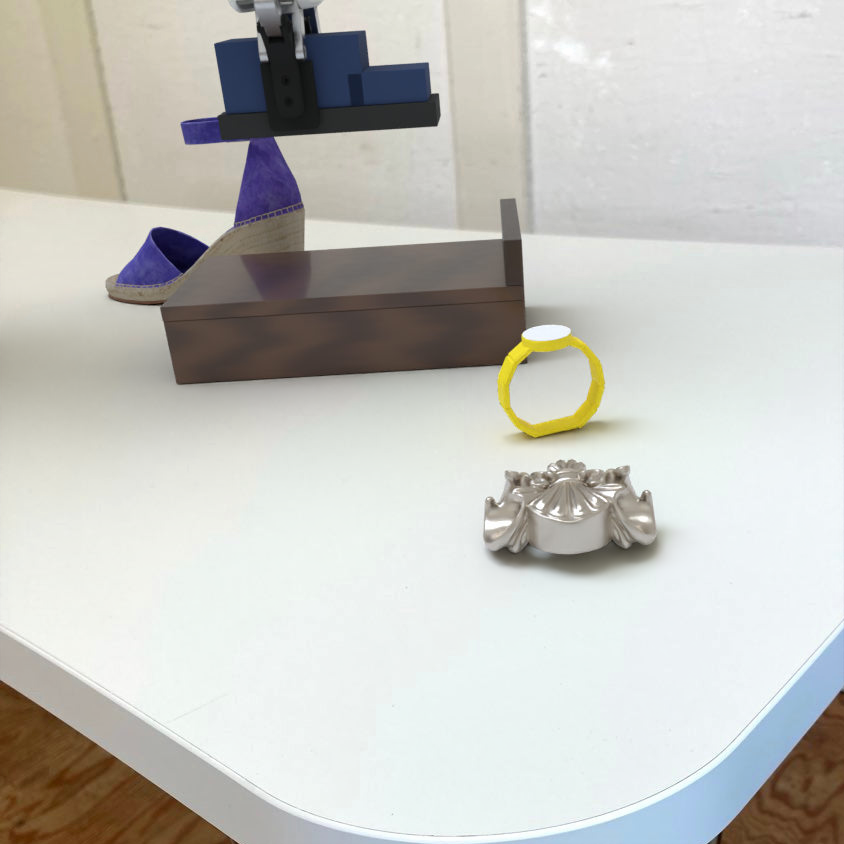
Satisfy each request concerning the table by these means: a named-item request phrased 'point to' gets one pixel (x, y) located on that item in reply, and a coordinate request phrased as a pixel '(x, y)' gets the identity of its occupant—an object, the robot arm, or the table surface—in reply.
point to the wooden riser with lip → (350, 309)
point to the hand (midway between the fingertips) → (302, 120)
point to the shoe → (327, 89)
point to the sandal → (252, 233)
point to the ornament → (568, 510)
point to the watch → (547, 341)
